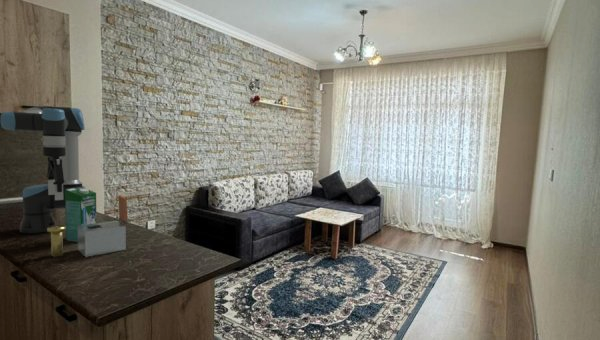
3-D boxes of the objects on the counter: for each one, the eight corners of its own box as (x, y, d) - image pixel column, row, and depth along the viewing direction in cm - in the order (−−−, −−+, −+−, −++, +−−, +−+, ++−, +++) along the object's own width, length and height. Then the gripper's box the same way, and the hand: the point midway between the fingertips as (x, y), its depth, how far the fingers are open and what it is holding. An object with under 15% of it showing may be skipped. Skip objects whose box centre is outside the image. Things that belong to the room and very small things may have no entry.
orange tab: (122, 220, 159) (118, 220, 158) (120, 195, 158) (117, 195, 157) (128, 224, 153) (125, 224, 152) (127, 198, 152) (123, 198, 151)
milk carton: (81, 242, 158) (80, 190, 156) (65, 240, 160) (64, 189, 157) (97, 236, 167) (96, 188, 165) (81, 235, 169) (80, 186, 166)
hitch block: (78, 249, 149) (77, 225, 148) (117, 242, 160) (116, 220, 159) (85, 257, 141) (84, 232, 140) (125, 249, 152) (125, 226, 151)
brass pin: (46, 254, 142) (45, 226, 141) (64, 251, 146) (63, 224, 145) (49, 258, 137) (48, 230, 136) (68, 255, 142) (67, 227, 141)
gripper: (37, 144, 143) (39, 193, 145) (48, 148, 126) (50, 203, 128) (58, 145, 148) (60, 191, 150) (72, 148, 131) (73, 201, 133)
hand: (55, 197), depth 139 cm, fingers open, 13 cm apart
